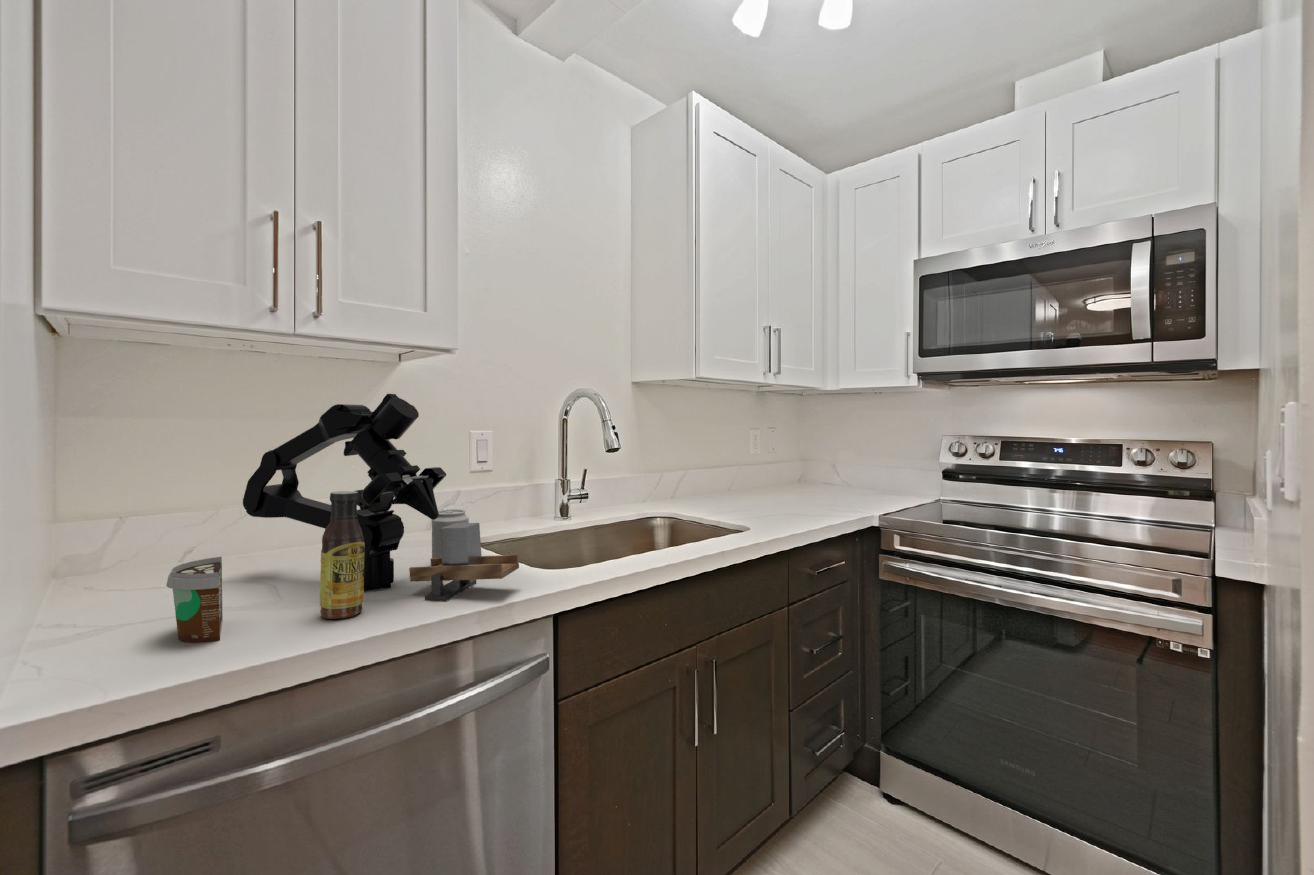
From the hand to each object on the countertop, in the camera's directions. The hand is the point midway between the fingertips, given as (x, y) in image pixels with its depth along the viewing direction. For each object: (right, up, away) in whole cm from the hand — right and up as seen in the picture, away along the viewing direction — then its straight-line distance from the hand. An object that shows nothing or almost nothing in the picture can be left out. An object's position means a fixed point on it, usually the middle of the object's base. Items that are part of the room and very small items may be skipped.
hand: (436, 518), depth 106 cm
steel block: (+5, -9, 0) cm, 11 cm away
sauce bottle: (-10, -14, -12) cm, 21 cm away
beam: (+5, -10, 0) cm, 12 cm away
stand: (+3, -13, 0) cm, 14 cm away
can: (-4, -13, +18) cm, 23 cm away
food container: (-27, -14, -21) cm, 37 cm away
